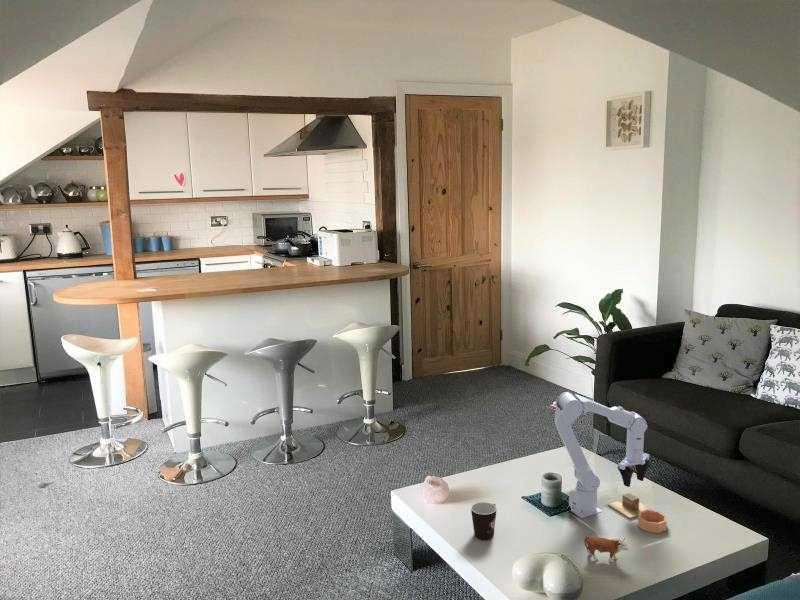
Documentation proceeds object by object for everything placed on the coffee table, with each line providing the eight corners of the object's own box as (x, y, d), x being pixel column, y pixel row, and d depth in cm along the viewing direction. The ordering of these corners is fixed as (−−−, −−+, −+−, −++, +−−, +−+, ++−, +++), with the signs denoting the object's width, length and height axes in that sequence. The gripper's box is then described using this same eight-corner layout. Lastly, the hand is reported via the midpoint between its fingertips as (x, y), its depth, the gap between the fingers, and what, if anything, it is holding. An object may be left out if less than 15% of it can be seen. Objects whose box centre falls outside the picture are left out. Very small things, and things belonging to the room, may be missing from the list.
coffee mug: (480, 544, 222) (480, 516, 220) (466, 533, 230) (465, 506, 228) (509, 535, 227) (509, 507, 226) (494, 524, 235) (494, 497, 233)
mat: (629, 522, 233) (629, 521, 233) (603, 506, 245) (603, 505, 245) (657, 513, 238) (657, 512, 238) (631, 498, 250) (631, 497, 250)
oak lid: (629, 519, 235) (629, 506, 234) (607, 505, 244) (608, 493, 244) (653, 512, 239) (654, 499, 238) (631, 499, 249) (631, 487, 248)
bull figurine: (628, 567, 207) (628, 543, 205) (583, 559, 212) (583, 535, 211) (629, 560, 211) (630, 536, 209) (585, 552, 216) (585, 528, 215)
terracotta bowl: (651, 536, 224) (652, 525, 223) (632, 524, 232) (632, 513, 231) (672, 530, 227) (672, 519, 227) (652, 518, 235) (652, 508, 235)
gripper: (631, 455, 232) (630, 492, 235) (657, 445, 240) (655, 481, 243) (614, 449, 238) (613, 485, 240) (640, 439, 246) (638, 474, 248)
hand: (633, 482), depth 242 cm, fingers open, 7 cm apart
